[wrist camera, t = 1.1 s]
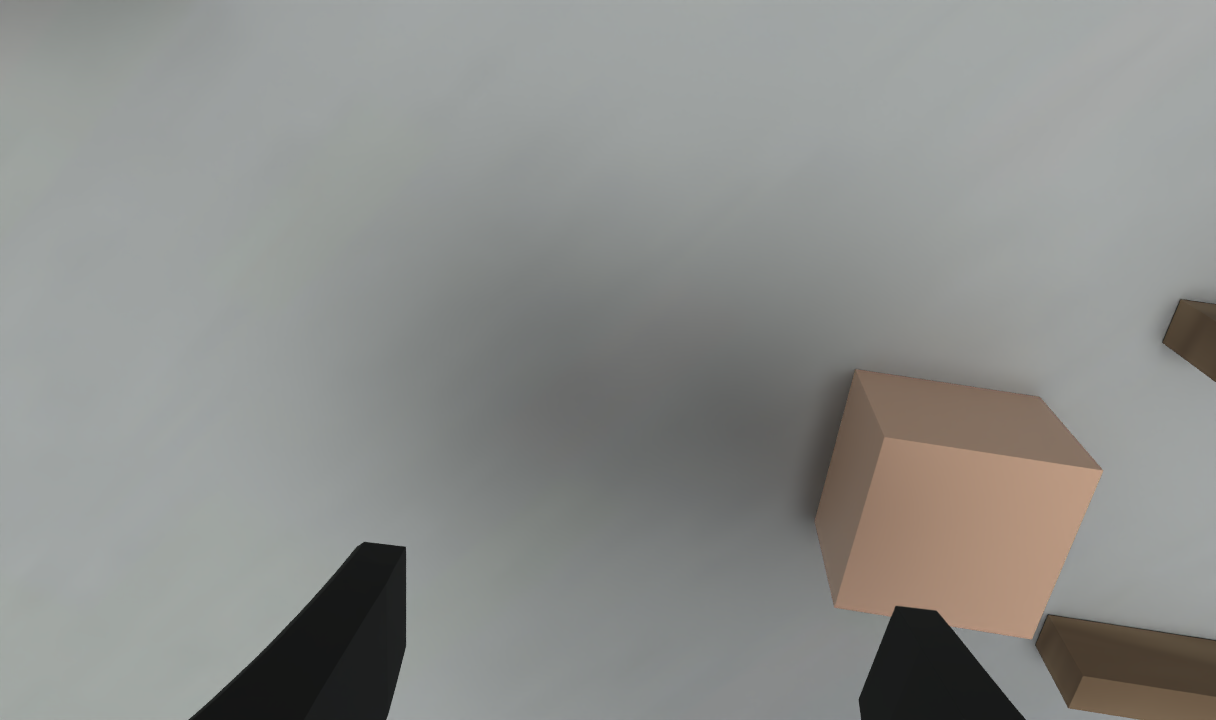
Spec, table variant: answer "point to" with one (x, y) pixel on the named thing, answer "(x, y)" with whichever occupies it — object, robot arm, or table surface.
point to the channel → (1134, 658)
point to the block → (951, 502)
